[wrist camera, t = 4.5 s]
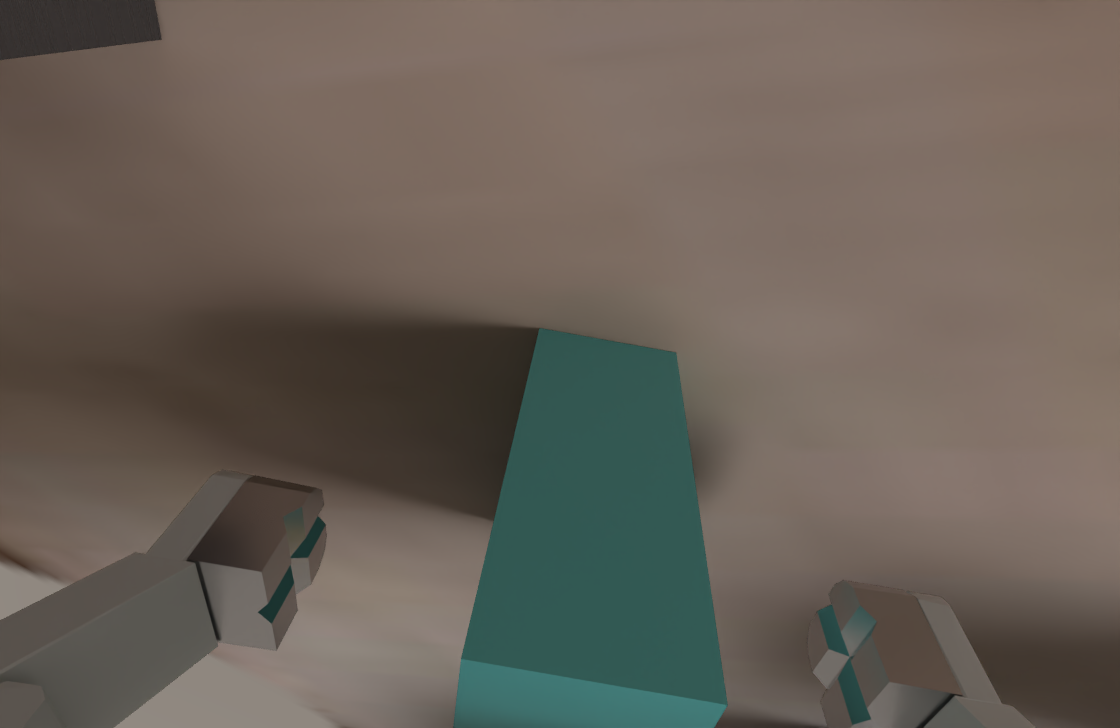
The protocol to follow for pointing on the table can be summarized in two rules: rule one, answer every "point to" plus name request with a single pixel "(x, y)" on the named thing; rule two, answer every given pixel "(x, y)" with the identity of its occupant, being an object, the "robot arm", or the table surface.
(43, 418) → the table surface
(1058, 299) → the table surface
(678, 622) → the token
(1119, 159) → the table surface
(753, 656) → the table surface
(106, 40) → the coin box
